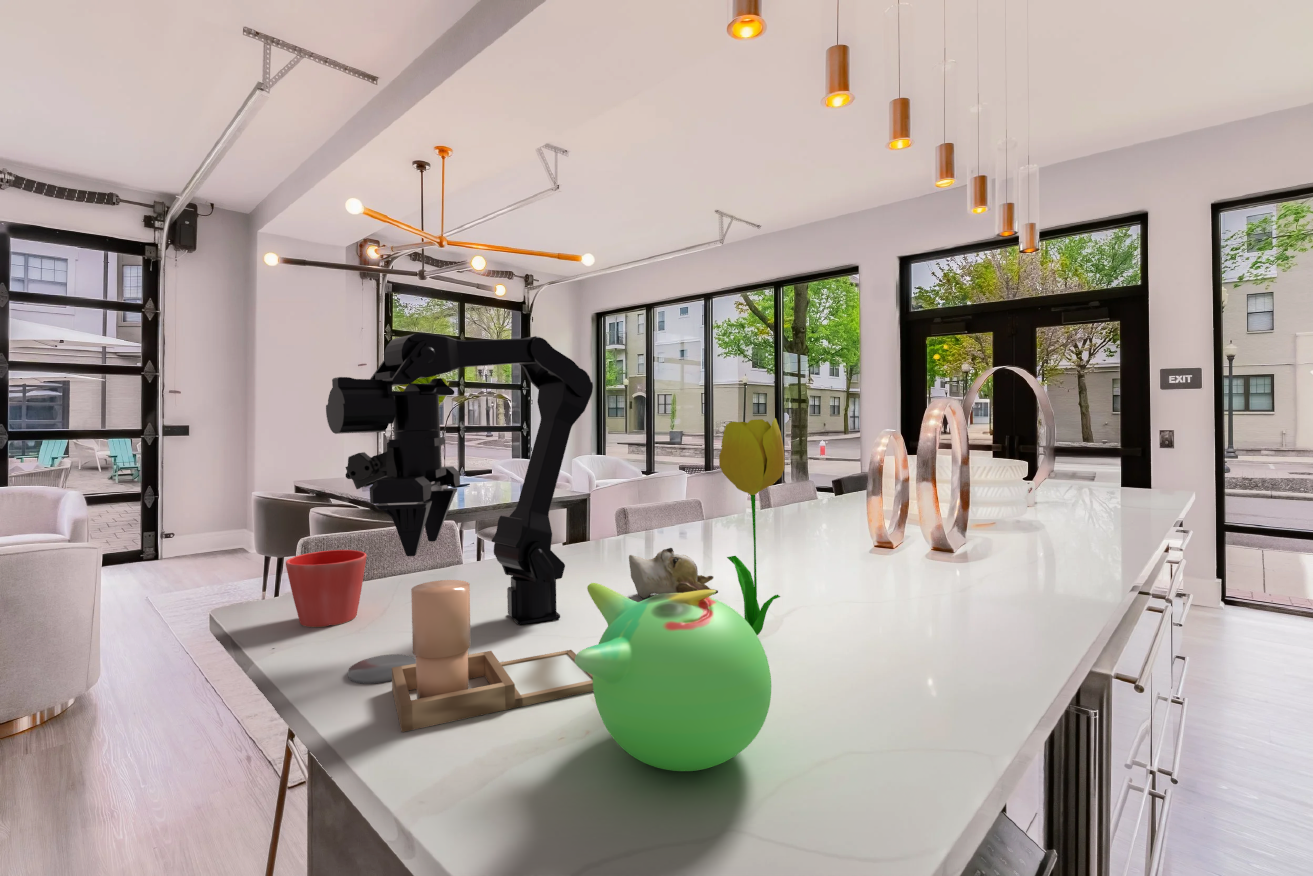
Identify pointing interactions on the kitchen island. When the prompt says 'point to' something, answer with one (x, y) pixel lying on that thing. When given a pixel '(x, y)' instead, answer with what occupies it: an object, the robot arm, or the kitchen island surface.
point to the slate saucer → (378, 668)
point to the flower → (752, 490)
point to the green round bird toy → (677, 678)
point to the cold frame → (491, 688)
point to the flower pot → (326, 586)
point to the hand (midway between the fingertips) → (422, 548)
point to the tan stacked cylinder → (441, 636)
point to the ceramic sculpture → (666, 574)
